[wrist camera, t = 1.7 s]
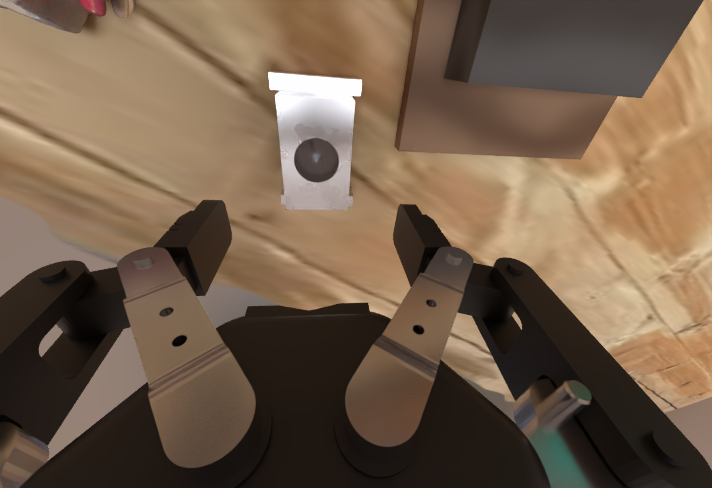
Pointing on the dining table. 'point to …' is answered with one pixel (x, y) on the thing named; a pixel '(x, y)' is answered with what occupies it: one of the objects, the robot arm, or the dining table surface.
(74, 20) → the brake caliper
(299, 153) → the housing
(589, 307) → the dining table surface
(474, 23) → the stand
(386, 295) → the dining table surface
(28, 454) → the robot arm
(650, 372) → the dining table surface
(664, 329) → the dining table surface
